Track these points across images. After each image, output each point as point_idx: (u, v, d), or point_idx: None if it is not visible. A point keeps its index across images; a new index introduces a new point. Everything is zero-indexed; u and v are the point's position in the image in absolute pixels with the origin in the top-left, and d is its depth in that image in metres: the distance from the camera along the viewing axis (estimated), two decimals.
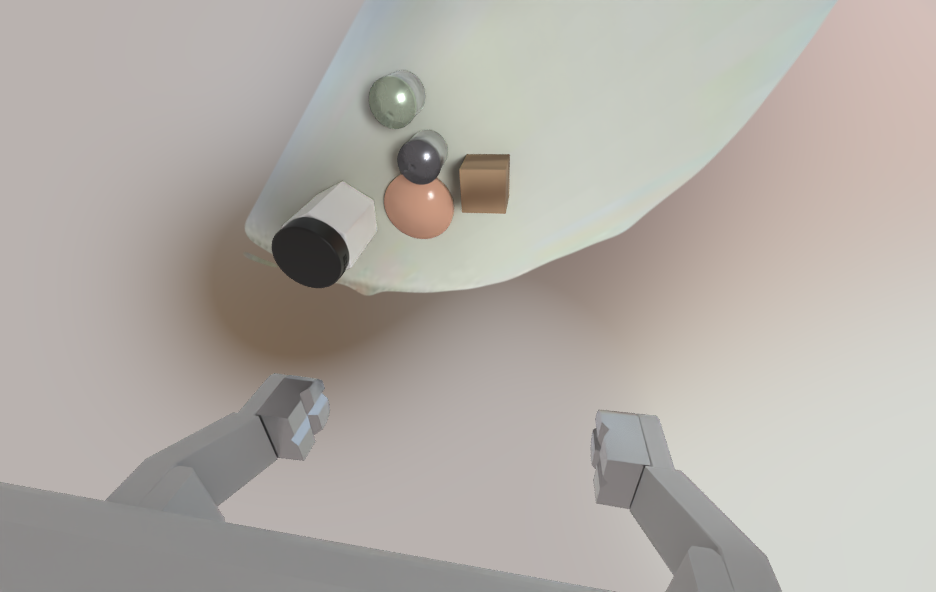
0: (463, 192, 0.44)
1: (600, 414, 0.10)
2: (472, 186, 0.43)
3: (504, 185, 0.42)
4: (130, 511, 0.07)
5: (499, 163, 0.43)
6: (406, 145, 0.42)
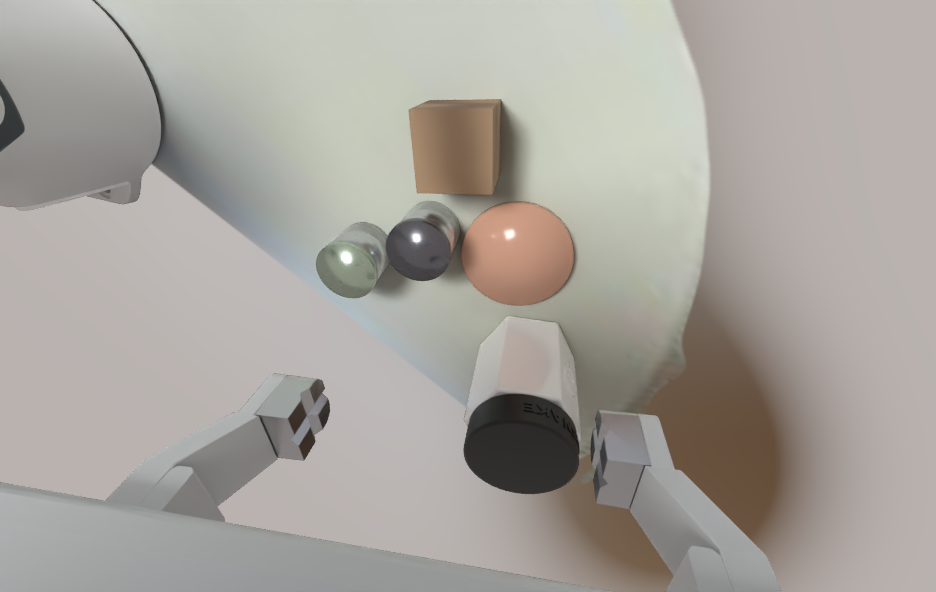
0: (455, 189, 0.25)
1: (600, 414, 0.10)
2: (444, 172, 0.25)
3: (436, 112, 0.23)
4: (130, 511, 0.07)
5: None
6: (394, 264, 0.30)
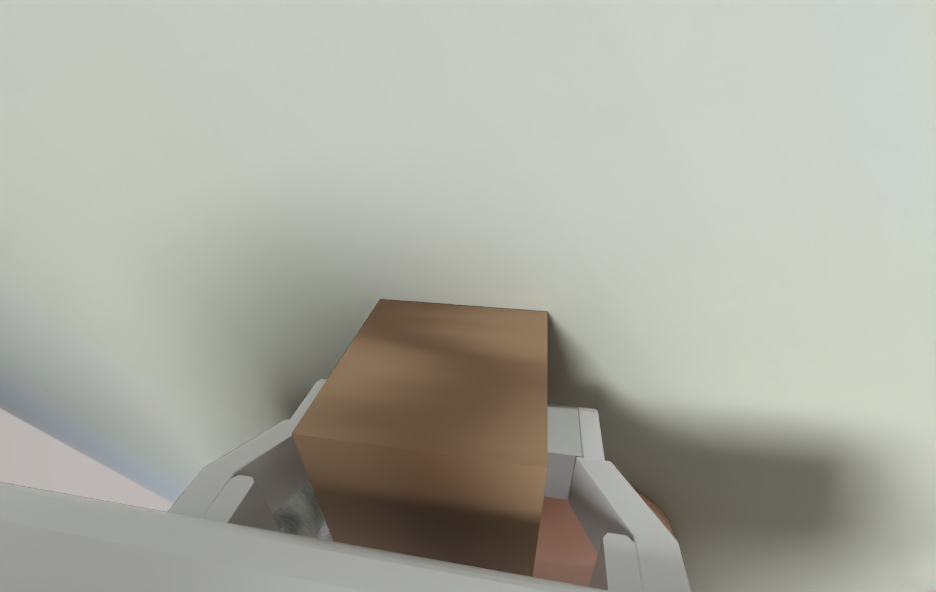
0: None
1: None
2: (403, 544, 0.09)
3: (373, 449, 0.08)
4: (130, 511, 0.07)
5: None
6: None
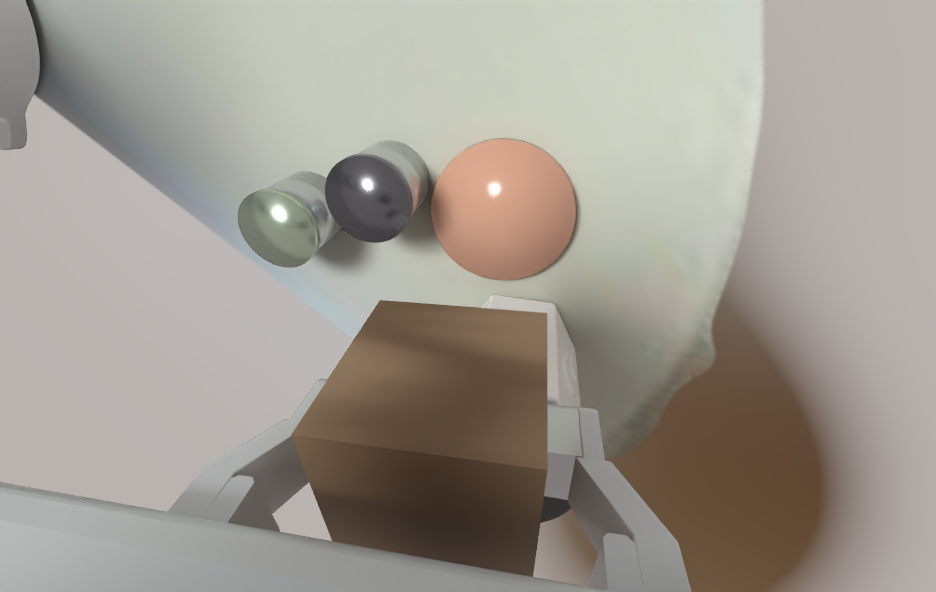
0: None
1: None
2: (403, 546, 0.09)
3: (373, 451, 0.08)
4: (130, 511, 0.07)
5: None
6: (337, 219, 0.22)
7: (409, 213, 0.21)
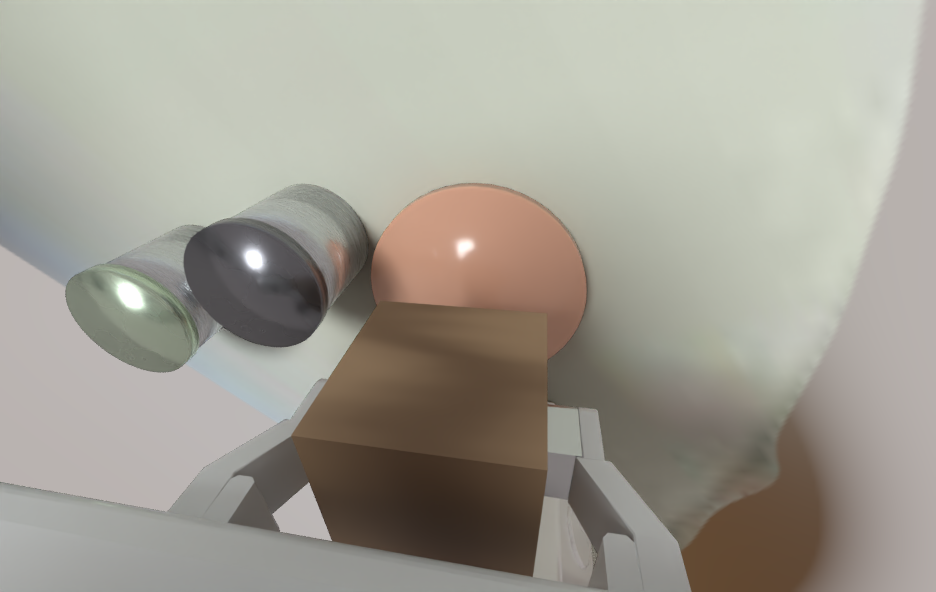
0: None
1: None
2: (403, 546, 0.09)
3: (373, 451, 0.08)
4: (130, 511, 0.07)
5: None
6: (213, 314, 0.14)
7: (321, 309, 0.13)
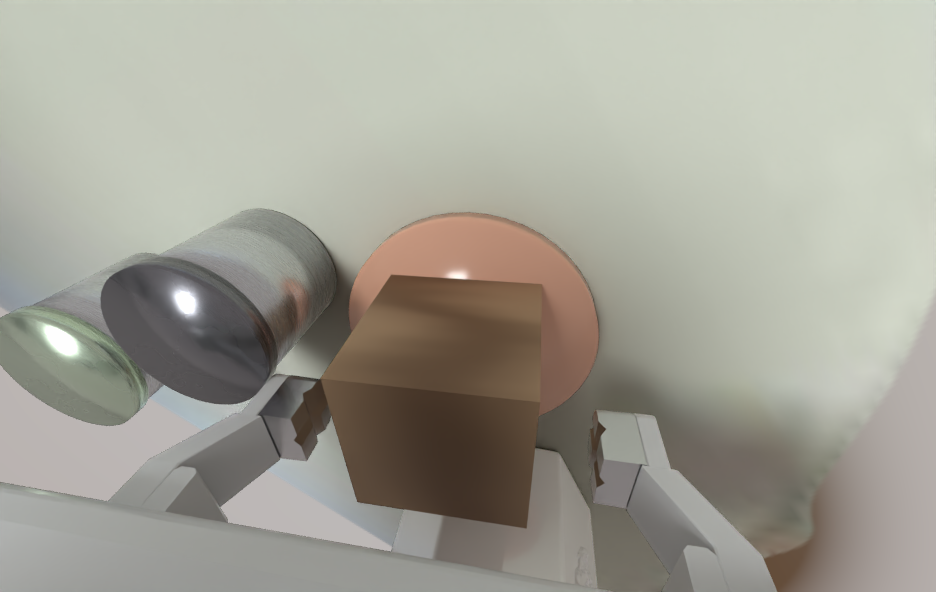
0: (441, 509, 0.11)
1: (597, 414, 0.10)
2: (415, 484, 0.11)
3: (391, 390, 0.09)
4: (130, 511, 0.07)
5: None
6: (141, 363, 0.12)
7: (267, 368, 0.11)
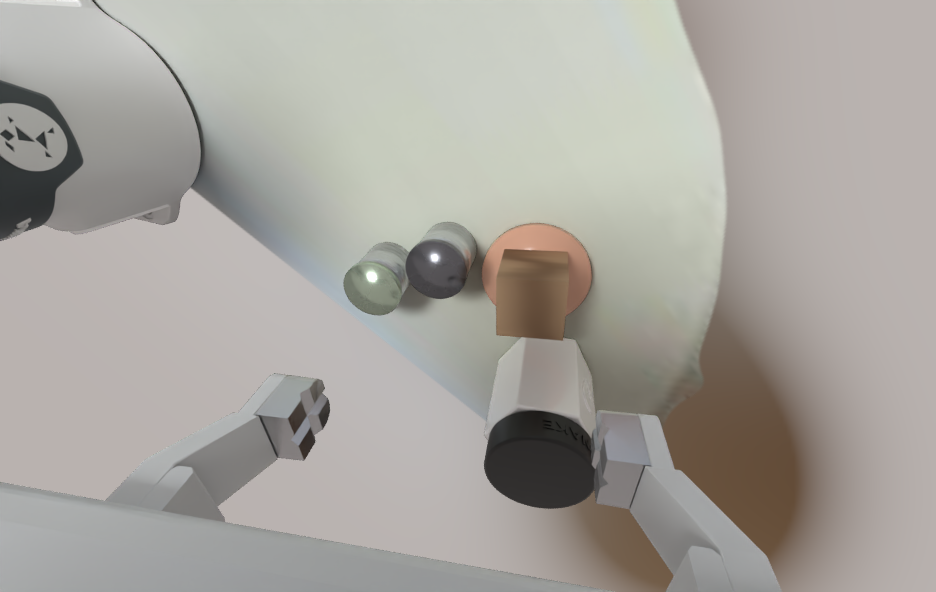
0: (530, 334, 0.30)
1: (600, 414, 0.10)
2: (522, 322, 0.29)
3: (520, 281, 0.28)
4: (130, 511, 0.07)
5: None
6: (412, 282, 0.31)
7: (465, 280, 0.30)
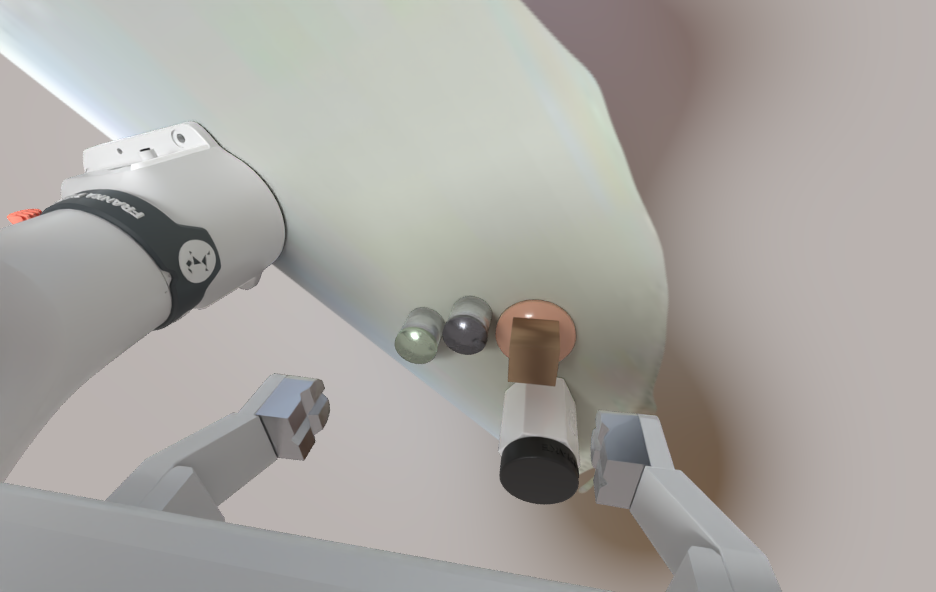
0: (532, 381, 0.42)
1: (600, 414, 0.10)
2: (526, 374, 0.41)
3: (526, 347, 0.40)
4: (130, 511, 0.07)
5: None
6: (447, 343, 0.43)
7: None
